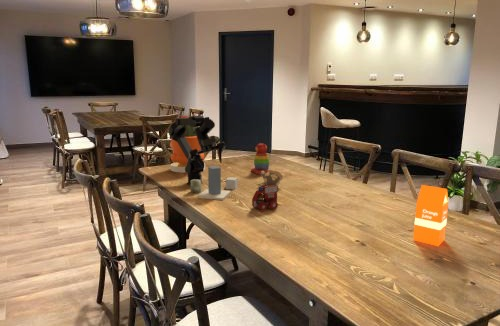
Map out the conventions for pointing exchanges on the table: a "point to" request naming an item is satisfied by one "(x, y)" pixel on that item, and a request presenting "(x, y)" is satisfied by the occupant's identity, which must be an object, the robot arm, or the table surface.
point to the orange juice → (431, 215)
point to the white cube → (231, 183)
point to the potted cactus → (178, 153)
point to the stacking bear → (261, 159)
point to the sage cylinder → (195, 186)
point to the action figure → (271, 177)
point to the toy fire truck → (265, 198)
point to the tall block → (214, 180)
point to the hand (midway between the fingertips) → (212, 165)
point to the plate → (207, 195)
